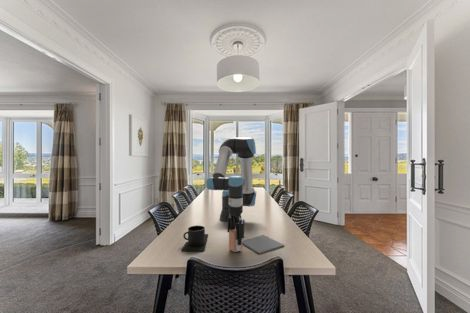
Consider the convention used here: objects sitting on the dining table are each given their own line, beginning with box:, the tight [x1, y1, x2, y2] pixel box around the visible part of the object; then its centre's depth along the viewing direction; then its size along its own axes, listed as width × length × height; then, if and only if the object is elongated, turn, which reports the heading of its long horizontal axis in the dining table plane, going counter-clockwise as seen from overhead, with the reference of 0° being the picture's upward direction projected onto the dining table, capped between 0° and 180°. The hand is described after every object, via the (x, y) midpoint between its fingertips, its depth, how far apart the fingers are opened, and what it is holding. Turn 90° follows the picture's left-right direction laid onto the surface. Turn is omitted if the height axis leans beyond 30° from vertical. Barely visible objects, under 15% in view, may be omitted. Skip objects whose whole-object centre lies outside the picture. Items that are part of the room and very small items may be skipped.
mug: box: [183, 225, 206, 247], centre depth 129 cm, size 9×12×9 cm
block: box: [228, 228, 243, 253], centre depth 120 cm, size 5×5×10 cm
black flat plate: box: [180, 233, 209, 253], centre depth 131 cm, size 25×1×15 cm
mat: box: [242, 234, 285, 255], centre depth 128 cm, size 18×18×1 cm
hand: (235, 248), depth 120 cm, fingers closed on block, 5 cm apart
